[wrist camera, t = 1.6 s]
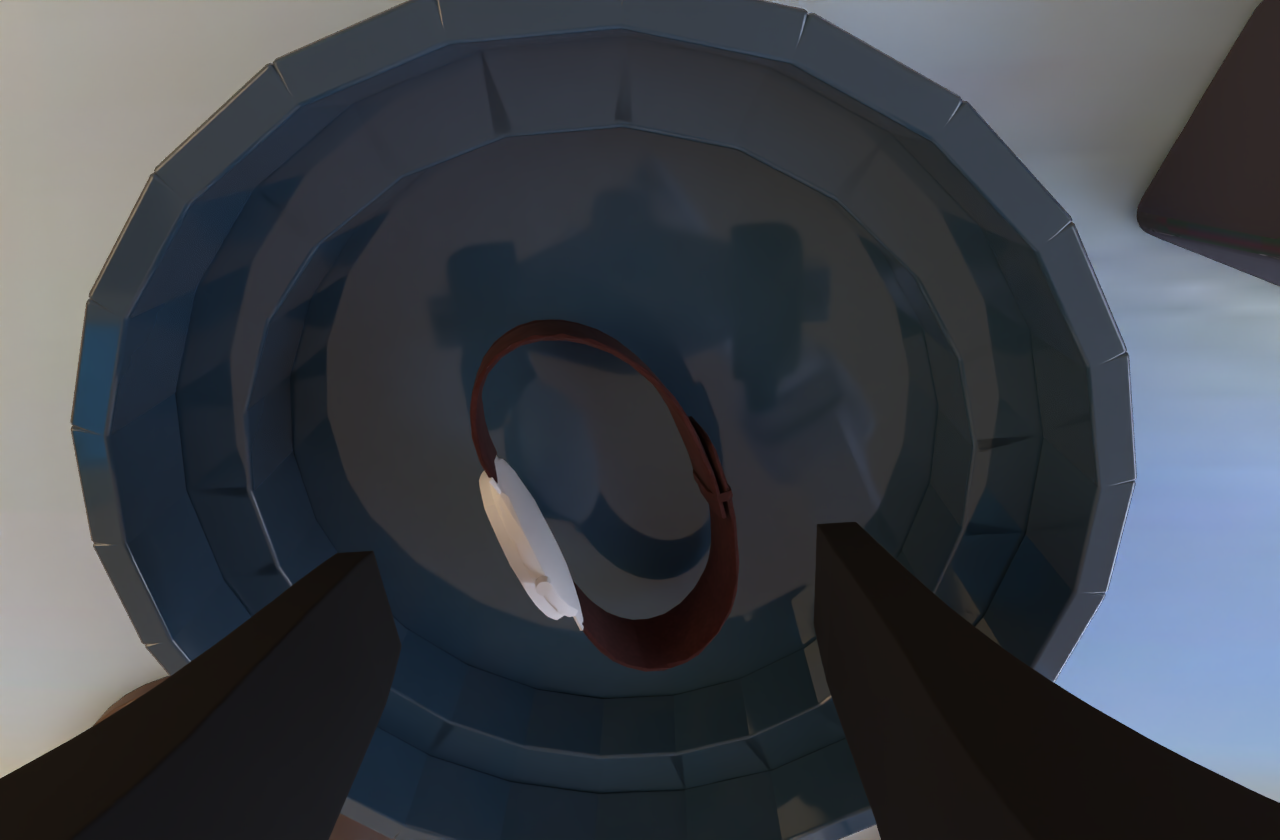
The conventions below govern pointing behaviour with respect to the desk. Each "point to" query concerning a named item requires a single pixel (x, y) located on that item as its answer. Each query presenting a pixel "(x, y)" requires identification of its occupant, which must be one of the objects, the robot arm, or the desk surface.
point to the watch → (541, 557)
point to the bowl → (601, 391)
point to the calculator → (1228, 161)
